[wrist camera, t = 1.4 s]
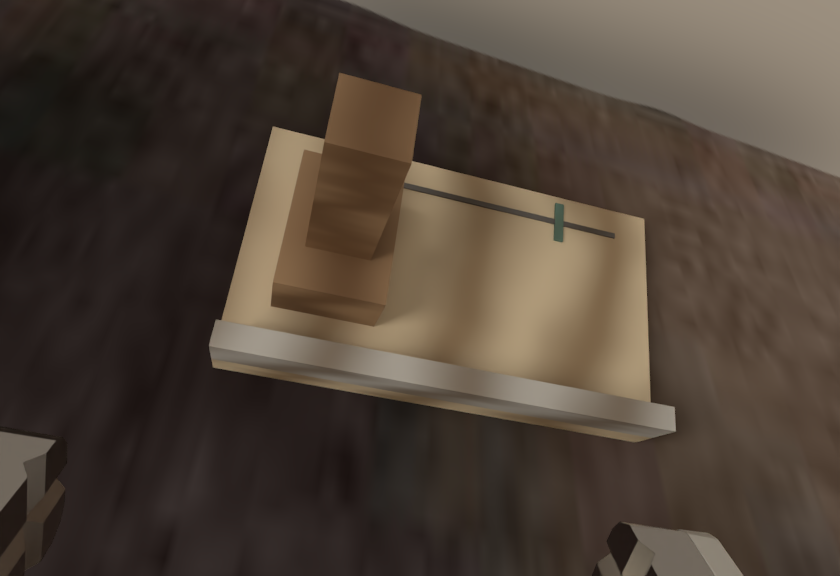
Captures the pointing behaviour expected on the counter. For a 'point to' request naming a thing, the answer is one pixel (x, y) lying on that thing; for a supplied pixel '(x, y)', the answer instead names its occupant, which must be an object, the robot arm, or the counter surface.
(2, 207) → the counter surface
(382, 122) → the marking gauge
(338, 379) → the birch board
